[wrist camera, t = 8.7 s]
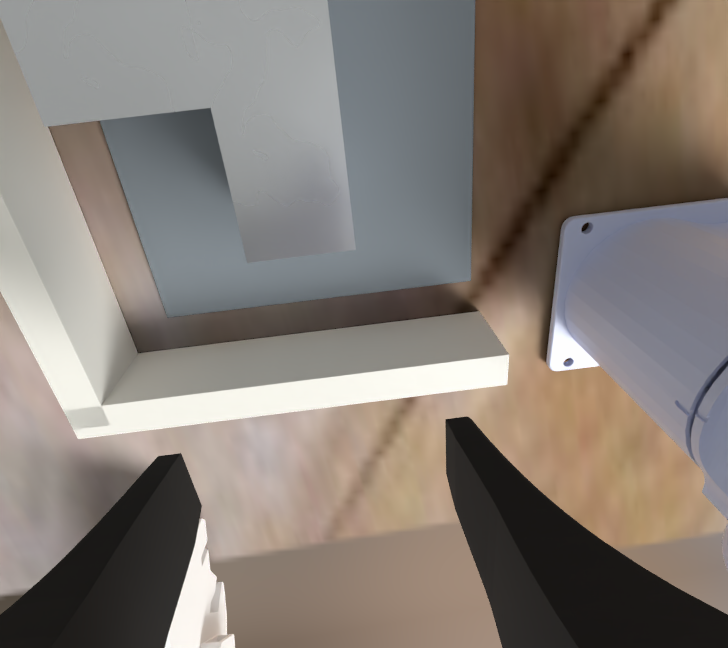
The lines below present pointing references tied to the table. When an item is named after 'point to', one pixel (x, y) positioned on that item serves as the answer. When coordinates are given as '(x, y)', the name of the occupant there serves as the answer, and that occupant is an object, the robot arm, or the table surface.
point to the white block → (200, 605)
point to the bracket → (209, 97)
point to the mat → (363, 161)
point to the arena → (190, 364)
